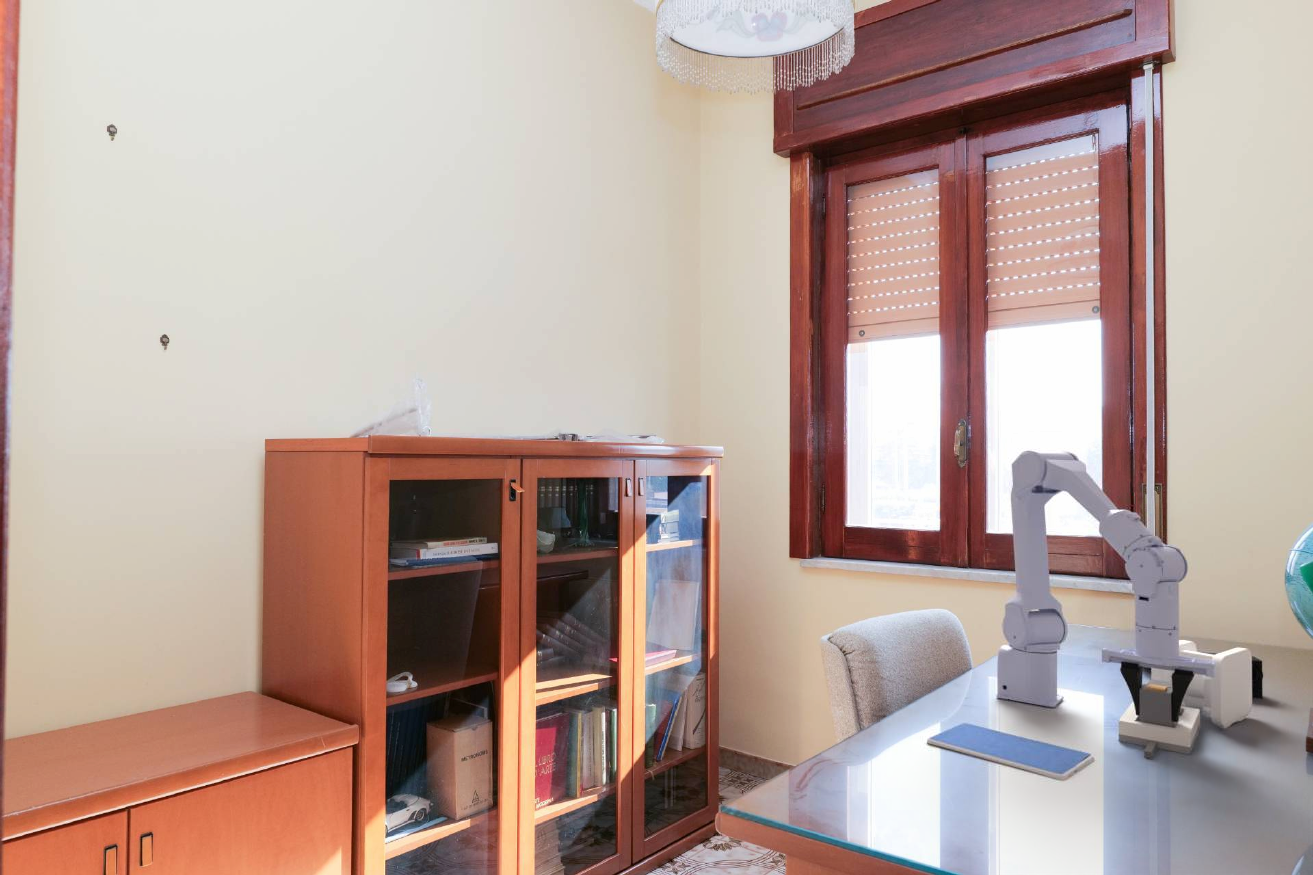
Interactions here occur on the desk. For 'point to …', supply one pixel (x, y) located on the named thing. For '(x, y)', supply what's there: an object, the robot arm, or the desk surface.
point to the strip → (1161, 729)
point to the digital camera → (1255, 677)
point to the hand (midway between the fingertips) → (1157, 717)
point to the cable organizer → (1217, 684)
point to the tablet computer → (1013, 750)
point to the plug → (1156, 705)
